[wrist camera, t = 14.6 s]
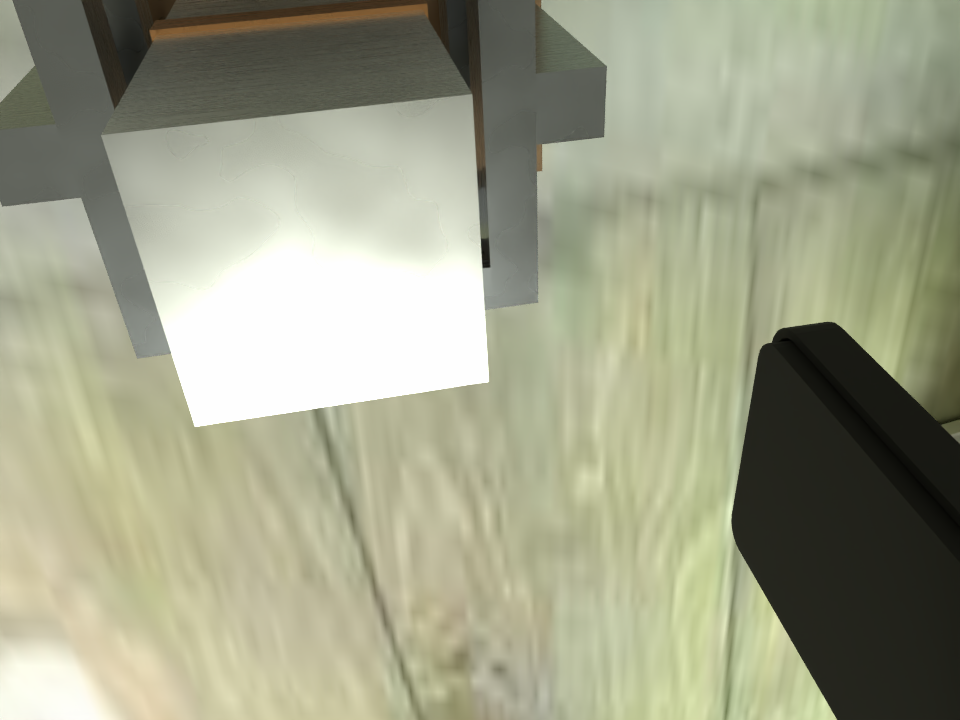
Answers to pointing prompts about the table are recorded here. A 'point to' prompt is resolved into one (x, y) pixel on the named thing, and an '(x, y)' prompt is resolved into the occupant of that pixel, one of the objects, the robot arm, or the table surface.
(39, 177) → the collar rack
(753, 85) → the table surface
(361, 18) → the white block
